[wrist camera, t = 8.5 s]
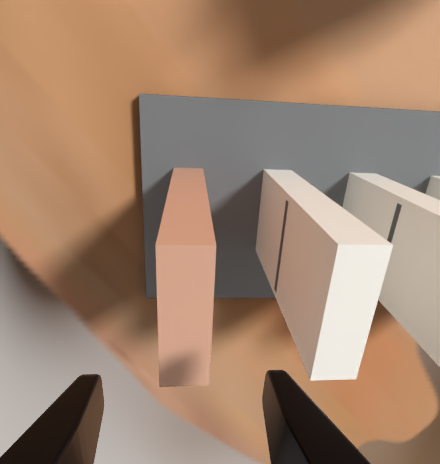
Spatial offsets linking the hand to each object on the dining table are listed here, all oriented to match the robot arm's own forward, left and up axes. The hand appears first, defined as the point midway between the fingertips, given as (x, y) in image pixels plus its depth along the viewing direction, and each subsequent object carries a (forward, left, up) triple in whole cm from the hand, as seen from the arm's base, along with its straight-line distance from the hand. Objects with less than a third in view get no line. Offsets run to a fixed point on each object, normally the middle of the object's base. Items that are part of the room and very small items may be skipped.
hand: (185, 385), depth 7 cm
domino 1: (0, 0, -12) cm, 12 cm away
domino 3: (0, -10, -12) cm, 16 cm away
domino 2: (0, -5, -12) cm, 13 cm away
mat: (0, -10, -13) cm, 17 cm away
